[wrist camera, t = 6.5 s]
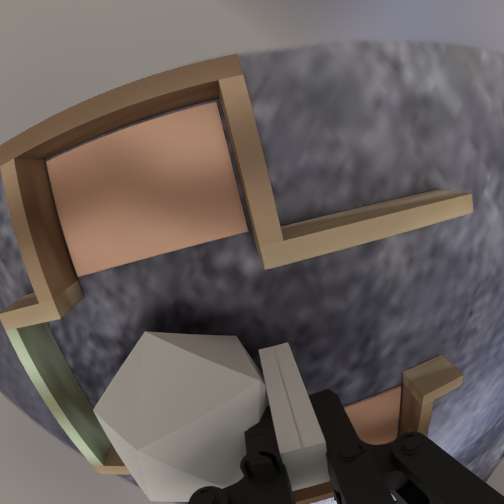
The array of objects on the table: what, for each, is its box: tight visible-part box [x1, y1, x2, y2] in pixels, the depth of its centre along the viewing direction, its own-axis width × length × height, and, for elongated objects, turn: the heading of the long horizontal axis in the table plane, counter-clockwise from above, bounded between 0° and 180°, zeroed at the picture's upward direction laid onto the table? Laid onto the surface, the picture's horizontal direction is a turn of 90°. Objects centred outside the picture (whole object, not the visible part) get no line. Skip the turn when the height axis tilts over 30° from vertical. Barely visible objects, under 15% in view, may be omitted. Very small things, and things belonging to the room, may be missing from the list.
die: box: [93, 331, 270, 502], centre depth 13 cm, size 8×9×10 cm
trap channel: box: [0, 54, 473, 504], centre depth 16 cm, size 29×26×3 cm
